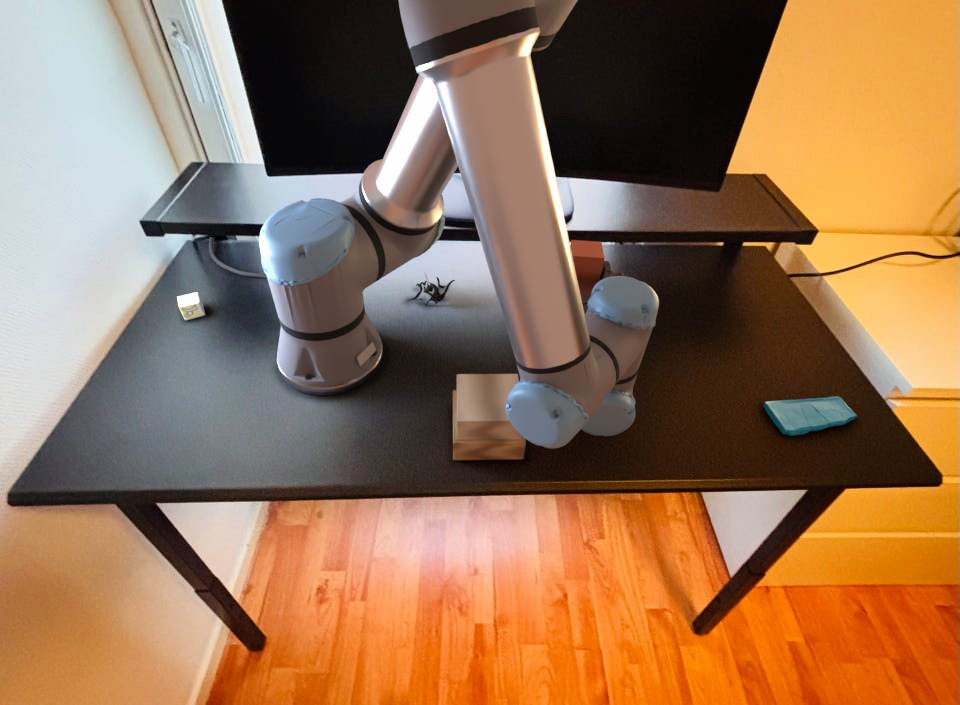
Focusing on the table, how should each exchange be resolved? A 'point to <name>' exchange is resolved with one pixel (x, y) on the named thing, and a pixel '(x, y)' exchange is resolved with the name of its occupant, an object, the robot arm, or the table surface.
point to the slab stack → (484, 418)
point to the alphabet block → (191, 306)
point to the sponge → (808, 414)
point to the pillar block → (587, 263)
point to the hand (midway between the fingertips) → (581, 252)
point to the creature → (436, 295)
